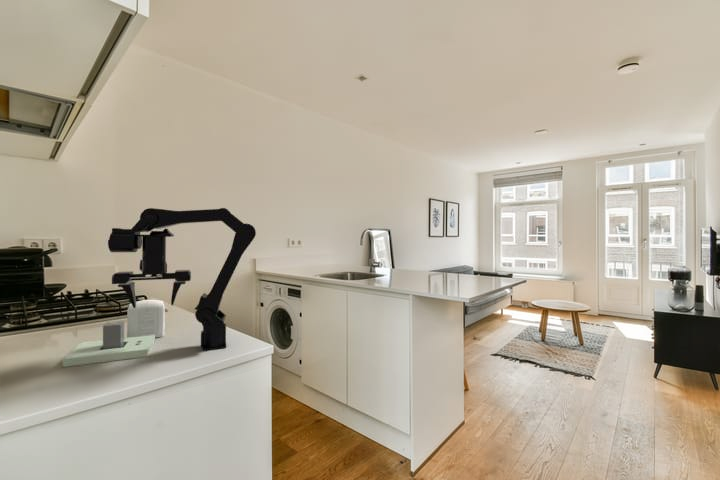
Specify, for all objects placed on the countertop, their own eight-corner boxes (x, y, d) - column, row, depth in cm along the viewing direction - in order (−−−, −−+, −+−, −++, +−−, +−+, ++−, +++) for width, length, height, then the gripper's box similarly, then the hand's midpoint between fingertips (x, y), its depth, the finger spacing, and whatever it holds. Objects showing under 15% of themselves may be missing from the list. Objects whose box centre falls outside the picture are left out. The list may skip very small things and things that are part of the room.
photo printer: (164, 333, 110) (164, 297, 110) (165, 337, 106) (165, 299, 106) (127, 338, 104) (127, 300, 104) (126, 342, 101) (126, 302, 100)
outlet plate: (155, 339, 104) (155, 332, 104) (147, 356, 89) (147, 348, 89) (84, 346, 96) (84, 339, 96) (62, 366, 82) (62, 358, 82)
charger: (124, 348, 94) (124, 320, 94) (120, 352, 91) (120, 324, 91) (107, 350, 93) (107, 322, 93) (102, 355, 89) (103, 325, 89)
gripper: (192, 250, 104) (191, 299, 104) (121, 251, 96) (121, 303, 96) (190, 252, 94) (189, 306, 94) (111, 253, 86) (111, 311, 86)
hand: (153, 306), depth 93 cm, fingers open, 9 cm apart
